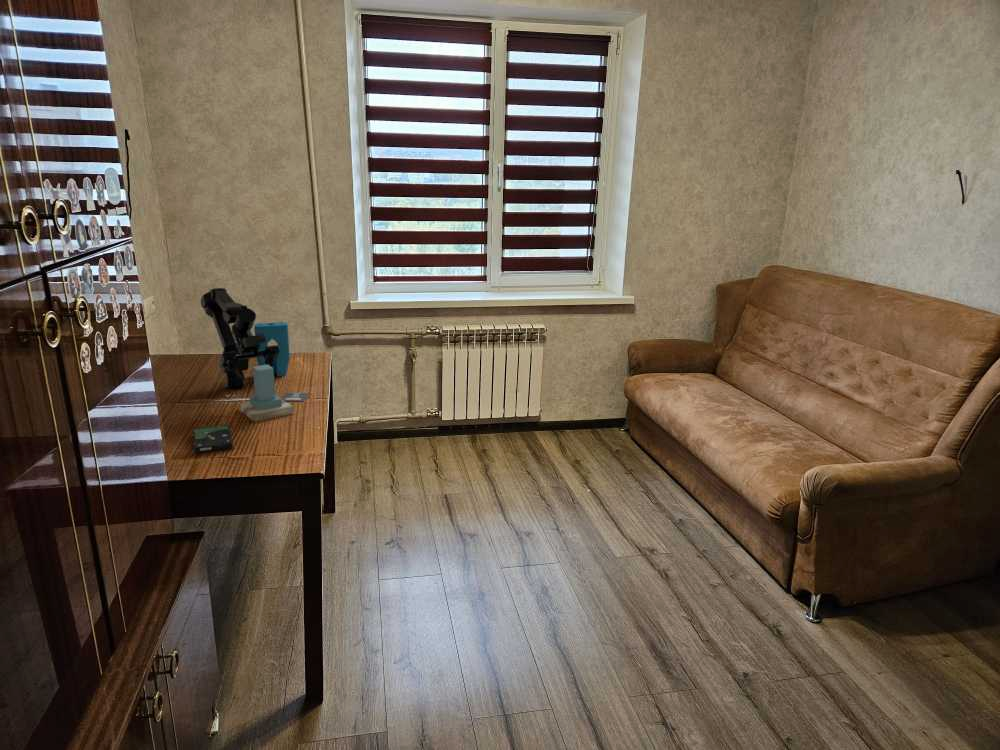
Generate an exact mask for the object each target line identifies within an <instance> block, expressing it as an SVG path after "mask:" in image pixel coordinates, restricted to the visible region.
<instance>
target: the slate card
mask: <svg viewBox="0 0 1000 750" xmlns="http://www.w3.org/2000/svg"><path fill="white" fill-rule="evenodd" d="M309 395H310V393H309V392H308V393H307V392H286V393H284V395H283V397H282V398H281V399H282V400H284V401H285V402H287V403H289V402H293V403H296V402H299V403H301V402H303V403H304V402H305V400H306V399H307V398H308V396H309Z"/></svg>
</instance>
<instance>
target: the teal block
mask: <svg viewBox="0 0 1000 750" xmlns="http://www.w3.org/2000/svg"><path fill="white" fill-rule="evenodd" d="M252 375H253V386H254V395H249V401H250V404H251V405H252V406H253V407H254V408H255V409H256V410H257V411H259V410H265V409H270V408H275V407H281V406H282V398H281V397H280V396H279V395H278V394H276V387H275V386H276V385H275V374H274V371H273V368H272V367H271V366H270V365H268V364H267V365H261V366H259V365H257V366H252Z"/></svg>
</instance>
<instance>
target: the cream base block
mask: <svg viewBox="0 0 1000 750" xmlns="http://www.w3.org/2000/svg"><path fill="white" fill-rule="evenodd" d="M238 408H239V411H240V412H241V413H243V415H245V416H247V417H248V418H249V419H250V420H252V421H253V422H254V423H258V422H262V421H266V420H271V419H274V418H280V417H283V416H288V415H292V414H295V413H294V406H293V405H291V404H290V403H289V402H288V401H284V400H282V406H281V407H275V408H270V409H265V410H259V411H257V410H256V409H255V408H254V407H253V406H252V405H251V404H250V400H249V401H245V402H239V403H238Z"/></svg>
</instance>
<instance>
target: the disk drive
mask: <svg viewBox="0 0 1000 750" xmlns="http://www.w3.org/2000/svg"><path fill="white" fill-rule="evenodd" d="M192 433H193V448H194V454H195V455H202V454H210V453H217V452H223V451H224V452H225V451H231V450H234V444H233V443H234V442H233V438H232V432H231V427H230V424H223V425H222V424H221V425H217V426H216V425H213V426H210V427H203V428H195V429H193V431H192Z"/></svg>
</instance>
